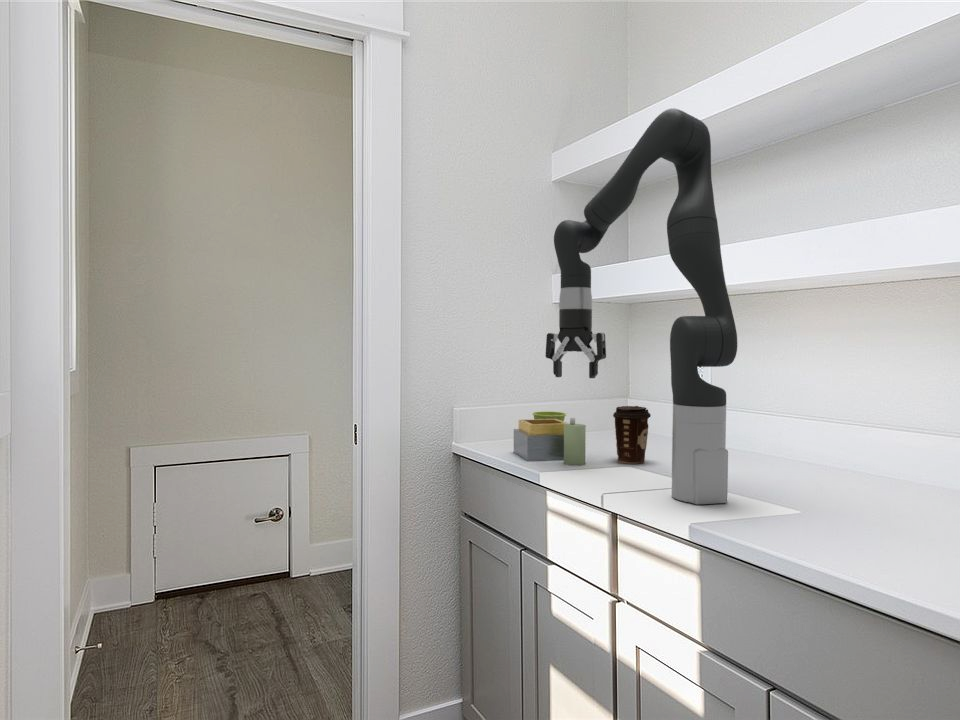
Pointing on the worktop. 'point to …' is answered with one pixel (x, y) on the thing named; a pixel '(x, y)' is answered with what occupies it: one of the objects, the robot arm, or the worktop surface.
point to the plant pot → (549, 415)
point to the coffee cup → (631, 433)
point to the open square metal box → (540, 439)
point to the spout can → (574, 443)
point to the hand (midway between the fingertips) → (575, 377)
